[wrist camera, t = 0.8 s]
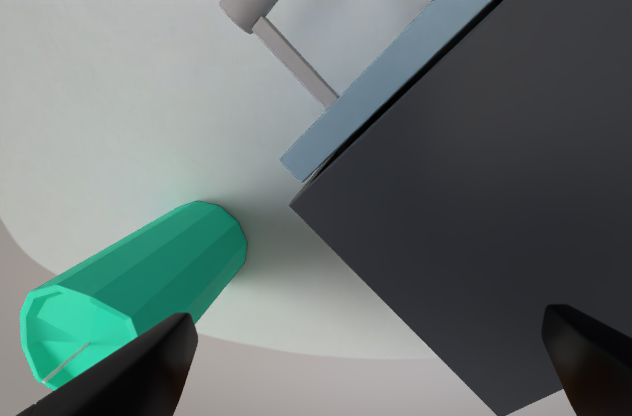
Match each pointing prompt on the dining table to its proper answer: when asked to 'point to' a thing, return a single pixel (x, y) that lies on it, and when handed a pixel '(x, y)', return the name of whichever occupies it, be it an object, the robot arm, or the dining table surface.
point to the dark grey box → (495, 191)
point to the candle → (130, 290)
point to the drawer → (370, 88)
